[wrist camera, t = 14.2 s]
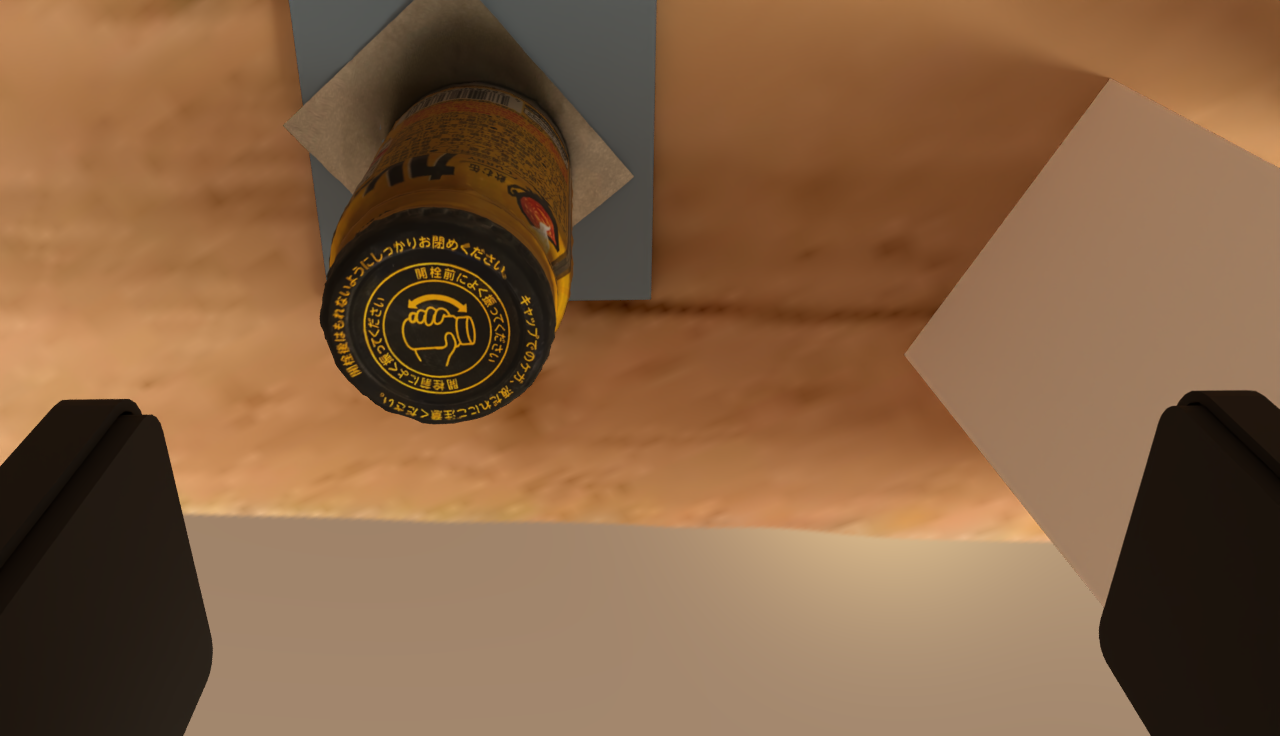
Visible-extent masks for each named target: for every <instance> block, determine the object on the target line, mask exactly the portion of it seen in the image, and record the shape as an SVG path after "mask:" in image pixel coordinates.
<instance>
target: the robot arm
mask: <svg viewBox="0 0 1280 736" xmlns="http://www.w3.org/2000/svg"><path fill="white" fill-rule="evenodd" d="M1099 639H1100V647H1101V650H1102V653H1103V656H1104V658H1105V660H1106V663H1107V664H1108V666H1109V667H1110V669H1111V671H1112V673H1113V674H1114V676H1115V677H1116V679H1117V681H1118V682H1119V684H1120V686H1121V687H1122V689H1123V691H1124V692H1125V694H1126V695H1127V697H1128V699H1129V700H1130V702H1131V704H1132V705H1133V707H1134V709H1135V710H1136V712H1137V714H1138V715H1139V717H1140V719H1141V720H1142V722H1143V723H1144V725H1145V727H1146V728H1147V730H1148V732H1149V733H1150V735H1151V736H1280V409H1279V408H1278V407H1277V406H1276V405H1274V404H1273V403H1272V402H1271V401H1270V400H1269V399H1267V398H1266V397H1265V396H1264V395H1262V394H1260V393H1259V392H1257V391H1252V390H1205V391H1190V392H1188V393H1186V394H1185V395H1184V396H1183V397H1182V398H1181V399H1180V400H1179V402H1178V404H1177V406H1171V407H1168V408H1166V410H1165V411H1164V412H1163V413H1162V415H1161V417H1160V420H1159V422H1158V425H1157V429H1156V432H1155V436H1154V439H1153V442H1152V446H1151V449H1150V453H1149V456H1148V460H1147V463H1146V466H1145V470H1144V473H1143V477H1142V480H1141V483H1140V487H1139V490H1138V494H1137V497H1136V500H1135V504H1134V507H1133V511H1132V514H1131V518H1130V521H1129V524H1128V528H1127V531H1126V535H1125V538H1124V541H1123V545H1122V548H1121V552H1120V555H1119V559H1118V562H1117V565H1116V569H1115V572H1114V576H1113V579H1112V582H1111V586H1110V589H1109V593H1108V596H1107V599H1106V603H1105V606H1104V610H1103V614H1102V617H1101V620H1100V626H1099ZM212 651H213V647H212V638H211V633H210V629H209V624H208V620H207V616H206V612H205V608H204V604H203V599H202V595H201V590H200V587H199V582H198V578H197V573H196V569H195V565H194V561H193V556H192V552H191V548H190V544H189V539H188V535H187V531H186V527H185V522H184V518H183V514H182V510H181V505H180V501H179V497H178V493H177V488H176V484H175V480H174V476H173V471H172V467H171V463H170V459H169V454H168V450H167V446H166V442H165V437H164V433H163V430H162V427H161V424H160V422H159V420H158V419H157V417H155V416H153V415H142V413H141V411H140V409H139V408H138V406H137V405H136V403H135V402H133V401H131V400H130V399H90V400H62V401H60V402H59V403H58V404H56V405H55V406H54V407H53V408H52V409H51V410H50V411H49V412H48V414H47V415H46V416H45V417H44V418H43V419H42V420H41V421H40V422H39V424H38V425H37V426H36V427H35V428H34V429H33V430H32V431H31V433H30V434H29V435H28V436H27V437H26V438H25V439H24V440H23V441H22V443H21V444H20V445H19V446H18V447H17V448H16V449H15V450H14V452H13V453H12V454H11V455H10V456H9V457H8V458H7V459H6V460H5V462H4V463H3V464H2V465H1V466H0V736H183V735H184V733H185V731H186V728H187V726H188V723H189V721H190V719H191V716H192V714H193V712H194V710H195V708H196V705H197V703H198V701H199V698H200V696H201V694H202V692H203V689H204V687H205V685H206V682H207V680H208V677H209V674H210V670H211V665H212V654H213V652H212Z"/></svg>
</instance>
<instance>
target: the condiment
mask: <svg viewBox="0 0 1280 736" xmlns="http://www.w3.org/2000/svg"><path fill="white" fill-rule="evenodd" d="M380 124H381V130H380ZM283 126H284V127H285V128H286V129H287V130H288V131H289V132H290V133H291V134H292V135H293V136H294V137H295V138H296V139H297V140H298V141H299V143H300V144H302V145H303V146H304V147H305V148H306V149H307V150H308V151H309V152H310V153H311V154H312V155H313V156H315V157H316V158H317V159H318V160H319V161H320V162H321V163H322V164H323V166H324V167H325V168H326V169H327V170H328V171H329V172H330V173H331V174H332V175H333V176H334V177H335V178H337V179H338V180H339V181H340V182H341V183H342V184H343V185H344V186H345V187H346V188H347V189H348V190H349V191H350V192H351V193H352V194H353V196H352V197H351V199H350V201H349V203H348V204H347V206H346V207H345V209H344V212H343V213H342V215H341V217H340V220H339V222H338V224H337V227H336V229H335V231H334V233H333V237H332V243H331V252H330V257H329V271H328V273H327V276H326V277H327V282H326V283H325V289H324V293H323V297H322V307H321V311H320V325H321V327H322V329H323V331H324V335H325V339H326V340H327V343H328V345H329V348H330V350H331V353H332V355H333V358H334V361H335V364H336V366H337V367H338V368H339V370H340V371H341V372H342V374H343V375H344V376H345V377H346V378H347V379H348V381H349V382H351V383H352V384H353V385H354V386H355V387H356V388H357V389H358V390H359V391H360V392H361V393H362V394H363V395H365V396H367V397H368V398H369V399H370V400H372V401H373V402H374V403H375V404H376V405H378V406H380V407H381V408H383V409H384V410H385V411H388V412H391V413H395V414H400V415H403V416H406V417H409V418H412V419H415V420H417V421H419V422H421V423H427V424H451V423H458V422H463V421H468V420H473V419H477V418H481V417H484V416H486V415H489V414H491V413H493V412H495V411H496V410H498V409H499V408H501V407H503V406H505V405H507V404H509V403H510V402H511V401H512V400H514V399H515V398H517V397H519V396H520V395H521V394H522V393H524V392H525V391H526V389H527V388H528V387H530V386H531V385H532V383H533V382H534V380H535V379H536V377H537V376H538V374H539V372H540V371H541V370H542V366H543V364H544V363H545V361H546V360H547V358H548V356H549V353H550V348H551V344H552V342H553V340H554V338H555V332H556V331H557V329H558V328H559V326H560V323H561V321H562V319H563V316H564V313H565V309H566V305H567V303H568V300H569V298H570V295H571V291H570V289H571V282H572V278H573V265H574V263H573V257H572V246H573V241H574V240H573V236H572V227H573V226H574V225H576V224H577V223H578V222H579V221H581V220H582V219H583V218H584V217H586V216H587V215H588V214H590V213H591V212H592V211H594V210H595V209H596V208H597V207H598V206H600V205H601V204H602V203H603V202H604V201H606V200H607V199H608V198H609V197H611V196H612V195H613V194H614V193H615V192H617V191H618V190H619V189H620V188H621V187H623V186H624V185H625V184H626V183H627V182H629V181H630V180H631V179H632V178H633V177H634V176H633V175H632V173H631V172H630V171H629V170H628V169H627V168H626V167H625V165H624V164H623V163H622V162H621V161H620V160H619V158H618V157H617V156H616V155H615V154H614V153H613V151H612V150H611V149H610V148H609V147H608V146H607V145H606V143H605V142H604V141H603V140H602V139H601V138H600V136H599V135H598V134H597V133H596V132H595V131H594V130H593V128H592V127H590V125H589V124H588V123H587V122H586V120H585V119H584V118H583V117H582V116H581V114H580V113H579V112H578V111H577V110H576V109H575V108H574V106H573V105H572V104H571V103H570V102H569V101H568V100H567V99H566V98H565V97H564V95H563V94H562V93H561V92H560V90H559V89H558V88H557V87H556V86H555V85H554V84H553V83H552V82H551V80H550V79H549V78H548V77H547V76H546V74H545V73H544V72H543V71H542V70H541V69H540V68H539V67H538V66H537V65H536V64H535V63H534V62H533V60H532V59H531V58H530V57H529V56H528V55H527V54H526V53H525V52H524V50H523V49H522V47H521V46H520V45H519V44H518V43H517V42H516V41H515V39H514V38H513V37H512V36H511V35H510V34H509V32H508V31H507V30H506V29H505V28H504V27H503V25H502V24H501V23H500V22H499V21H498V19H497V18H496V17H495V16H494V15H493V14H492V13H491V12H490V11H489V10H488V8H487V7H486V6H485V5H484V4H483V3H482V2H481V1H480V0H414V1H413V2H412V3H411V4H410V5H408V6H407V7H406V8H405V9H404V10H403V11H402V12H401V13H400V14H399V15H398V16H397V17H396V18H395V19H394V20H393V21H392V22H390V23H389V24H388V25H387V26H386V27H385V28H384V29H383V30H382V31H381V32H380V33H379V34H378V35H377V36H376V37H375V38H374V39H373V40H372V41H371V42H370V43H369V44H368V45H367V46H365V47H364V48H363V49H362V50H361V51H360V52H359V53H358V54H357V55H356V56H355V57H354V58H353V59H352V60H351V61H350V62H348V63H347V64H346V65H345V67H343V68H342V69H341V70H340V71H339V72H338V73H337V74H336V75H335V76H334V78H332V79H331V80H330V81H329V82H328V83H327V84H326V85H325V86H324V87H323V88H321V89H320V90H319V91H318V92H317V93H316V94H315V95H314V96H313V97H312V98H311V99H310V100H309V101H308V102H307V103H306V104H305V105H304V106H303V107H302V108H301V109H299V110H298V111H297V112H296V113H295V114H294V115H293V116H292V117H291V118H290V119H289V120H288V121H287V122H286V123H285V124H284V125H283ZM383 139H384V142H383V143H382V140H383Z"/></svg>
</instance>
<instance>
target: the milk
mask: <svg viewBox="0 0 1280 736" xmlns="http://www.w3.org/2000/svg"><path fill="white" fill-rule="evenodd" d="M904 356H905V357H906V358H907V359H908V361H909V362H910V363H911V364H912V366H913V367H914V368H915V369H916V371H917V372H918V373H919V375H920V376H921V377H922V378H923V380H924V381H925V382H926V383H927V385H928V386H929V387H930V388H931V390H932V391H933V392H934V393H935V395H936V396H937V397H938V399H939V400H940V401H941V402H942V404H943V405H944V406H945V407H946V409H947V410H948V411H949V412H950V414H951V415H952V416H953V418H954V419H955V420H956V421H957V423H958V424H959V425H960V426H961V428H962V429H963V430H964V431H965V433H966V434H967V435H968V436H969V438H970V439H971V440H972V442H973V443H974V444H975V445H976V447H977V448H978V449H979V450H980V452H981V453H982V454H983V455H984V457H985V458H986V459H987V460H988V462H989V463H990V464H991V466H992V467H993V468H994V469H995V471H996V472H997V473H998V474H999V476H1000V477H1001V478H1002V479H1003V481H1004V482H1005V483H1006V485H1007V486H1008V487H1009V488H1010V490H1011V491H1012V492H1013V493H1014V495H1015V496H1016V497H1017V498H1018V500H1019V501H1020V502H1021V503H1022V505H1023V506H1024V507H1025V509H1026V510H1027V511H1028V512H1029V514H1030V515H1031V516H1032V517H1033V519H1034V520H1035V521H1036V522H1037V524H1038V525H1039V526H1040V527H1041V529H1042V530H1043V531H1044V533H1045V534H1046V535H1047V536H1048V538H1049V539H1050V540H1051V541H1052V543H1053V544H1054V545H1055V546H1056V547H1057V549H1058V550H1059V551H1060V553H1061V554H1062V555H1063V556H1064V558H1065V559H1066V560H1067V562H1068V563H1069V564H1070V565H1071V567H1072V568H1073V569H1074V570H1075V572H1076V573H1077V574H1078V576H1079V577H1080V578H1081V579H1082V581H1083V582H1084V583H1085V584H1086V586H1087V587H1088V588H1089V589H1090V591H1091V592H1092V593H1093V594H1094V596H1095V597H1096V598H1097V599H1098V601H1099V602H1100V603H1101V605H1102V606H1103V607H1104V606H1105V603H1106V599H1107V596H1108V593H1109V589H1110V586H1111V582H1112V579H1113V576H1114V572H1115V569H1116V565H1117V562H1118V559H1119V555H1120V552H1121V548H1122V545H1123V541H1124V538H1125V535H1126V531H1127V528H1128V524H1129V521H1130V518H1131V514H1132V511H1133V507H1134V504H1135V500H1136V497H1137V494H1138V490H1139V487H1140V483H1141V480H1142V477H1143V473H1144V470H1145V466H1146V463H1147V460H1148V456H1149V453H1150V449H1151V446H1152V442H1153V439H1154V436H1155V432H1156V429H1157V425H1158V422H1159V420H1160V417H1161V415H1162V413H1163V412H1164V411H1165V410H1166V408H1168V407H1171V406H1177V404H1178V402H1179V400H1180V399H1181V398H1182V397H1183V396H1184V395H1185V394H1186V393H1188V392H1190V391H1205V390H1252V391H1257V392H1259V393H1260V394H1262V395H1264V396H1265V397H1266V398H1267V399H1269V400H1270V401H1271V402H1272V403H1273V404H1274V405H1276V406H1277V407H1278V408H1279V409H1280V168H1278V167H1277V166H1275V165H1273V164H1271V163H1269V162H1267V161H1265V160H1263V159H1262V158H1260V157H1258V156H1256V155H1254V154H1252V153H1250V152H1248V151H1246V150H1245V149H1243V148H1241V147H1239V146H1237V145H1235V144H1233V143H1231V142H1230V141H1228V140H1226V139H1224V138H1222V137H1220V136H1218V135H1216V134H1215V133H1213V132H1211V131H1209V130H1207V129H1205V128H1203V127H1201V126H1200V125H1198V124H1196V123H1194V122H1192V121H1190V120H1188V119H1186V118H1184V117H1183V116H1181V115H1179V114H1177V113H1175V112H1173V111H1171V110H1169V109H1168V108H1166V107H1164V106H1162V105H1160V104H1158V103H1156V102H1154V101H1153V100H1151V99H1149V98H1147V97H1145V96H1143V95H1141V94H1139V93H1138V92H1136V91H1134V90H1132V89H1130V88H1128V87H1126V86H1124V85H1122V84H1121V83H1119V82H1117V81H1115V80H1113V79H1111V78H1110V79H1109V81H1108V82H1107V83H1106V85H1105V86H1104V87H1103V89H1102V90H1101V91H1100V93H1099V94H1098V95H1097V97H1096V98H1095V99H1094V101H1093V102H1092V103H1091V105H1090V106H1089V107H1088V109H1087V110H1086V111H1085V113H1084V114H1083V115H1082V117H1081V118H1080V119H1079V121H1078V122H1077V123H1076V125H1075V126H1074V127H1073V129H1072V130H1071V131H1070V133H1069V134H1068V135H1067V137H1066V138H1065V139H1064V141H1063V142H1062V143H1061V145H1060V146H1059V147H1058V149H1057V150H1056V152H1055V153H1054V154H1053V156H1052V157H1051V158H1050V160H1049V161H1048V162H1047V164H1046V165H1045V166H1044V168H1043V169H1042V170H1041V172H1040V173H1039V174H1038V176H1037V177H1036V178H1035V180H1034V181H1033V182H1032V184H1031V185H1030V186H1029V188H1028V189H1027V190H1026V192H1025V193H1024V194H1023V196H1022V197H1021V198H1020V200H1019V201H1018V202H1017V204H1016V205H1015V206H1014V208H1013V209H1012V210H1011V212H1010V213H1009V214H1008V216H1007V217H1006V218H1005V220H1004V221H1003V223H1002V224H1001V225H1000V227H999V228H998V229H997V231H996V232H995V233H994V235H993V236H992V237H991V239H990V240H989V241H988V243H987V244H986V245H985V247H984V248H983V249H982V251H981V252H980V253H979V255H978V256H977V257H976V259H975V260H974V261H973V263H972V264H971V265H970V267H969V268H968V269H967V271H966V272H965V273H964V275H963V276H962V277H961V279H960V280H959V281H958V283H957V284H956V285H955V287H954V288H953V289H952V291H951V292H950V294H949V295H948V296H947V298H946V299H945V300H944V302H943V303H942V304H941V306H940V307H939V308H938V310H937V311H936V312H935V314H934V315H933V316H932V318H931V319H930V320H929V322H928V323H927V324H926V326H925V327H924V328H923V330H922V331H921V332H920V334H919V335H918V336H917V338H916V339H915V340H914V342H913V343H912V344H911V346H910V347H909V348H908V350H907V351H906V352H905V354H904Z"/></svg>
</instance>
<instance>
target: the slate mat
mask: <svg viewBox="0 0 1280 736" xmlns="http://www.w3.org/2000/svg"><path fill="white" fill-rule="evenodd" d="M413 1H414V0H289V5H290V13H291V20H292V28H293V35H294V43H295V50H296V57H297V65H298V72H299V80H300V87H301V94H302V102H303V106H304V105H305V104H306V103H307V102H308V101H309V100H310V99H311V98H312V97H313V96H314V95H315V94H316V93H317V92H318V91H319V90H320V89H321V88H323V87H324V86H325V85H326V84H327V83H328V82H329V81H330V80H331V79H332V78H334V76H335V75H336V74H337V73H338V72H339V71H340V70H341V69H342V68H343V67H345V65H346V64H347V63H348V62H350V61H351V60H352V59H353V58H354V57H355V56H356V55H357V54H358V53H359V52H360V51H361V50H362V49H363V48H364V47H365V46H367V45H368V44H369V43H370V42H371V41H372V40H373V39H374V38H375V37H376V36H377V35H378V34H379V33H380V32H381V31H382V30H383V29H384V28H385V27H386V26H387V25H388V24H389V23H390V22H392V21H393V20H394V19H395V18H396V17H397V16H398V15H399V14H400V13H401V12H402V11H403V10H404V9H405V8H406V7H407V6H408V5H410V4H411V3H412V2H413ZM480 1H481V2H482V3H483V4H484V5H485V6H486V7H487V8H488V10H489V11H490V12H491V13H492V14H493V15H494V16H495V17H496V18H497V19H498V21H499V22H500V23H501V24H502V25H503V27H504V28H505V29H506V30H507V31H508V32H509V34H510V35H511V36H512V37H513V38H514V39H515V41H516V42H517V43H518V44H519V45H520V46H521V47H522V49H523V50H524V52H525V53H526V54H527V55H528V56H529V57H530V58H531V59H532V60H533V62H534V63H535V64H536V65H537V66H538V67H539V68H540V69H541V70H542V71H543V72H544V73H545V74H546V76H547V77H548V78H549V79H550V80H551V82H552V83H553V84H554V85H555V86H556V87H557V88H558V89H559V90H560V92H561V93H562V94H563V95H564V97H565V98H566V99H567V100H568V101H569V102H570V103H571V104H572V105H573V106H574V108H575V109H576V110H577V111H578V112H579V113H580V114H581V116H582V117H583V118H584V119H585V120H586V122H587V123H588V124H589V125H590V127H592V128H593V130H594V131H595V132H596V133H597V134H598V135H599V136H600V138H601V139H602V140H603V141H604V142H605V143H606V145H607V146H608V147H609V148H610V149H611V150H612V151H613V153H614V154H615V155H616V156H617V157H618V158H619V160H620V161H621V162H622V163H623V164H624V165H625V167H626V168H627V169H628V170H629V171H630V172H631V173H632V175H633V176H634V177H633V178H632V179H631V180H630V181H629V182H627V183H626V184H625V185H624V186H623V187H621V188H620V189H619V190H618V191H617V192H615V193H614V194H613V195H612V196H611V197H609V198H608V199H607V200H606V201H604V202H603V203H602V204H601V205H600V206H598V207H597V208H596V209H595V210H594V211H592V212H591V213H590V214H588V215H587V216H586V217H584V218H583V219H582V220H581V221H579V222H578V223H577V224H576V225H574V226H573V227H572V236H573V240H574V241H573V246H572V257H573V263H574V265H573V278H572V282H571V289H570V291H571V295H570V298H569V300H568V301H578V300H649V299H651V274H652V220H653V165H654V110H655V56H656V1H657V0H480ZM380 130H381V124H380ZM383 142H384V139H383V140H382V143H383ZM309 154H310V161H311V169H312V176H313V183H314V191H315V198H316V206H317V213H318V220H319V228H320V235H321V243H322V250H323V258H324V265H325V272H326V276H327V273H328V271H329V257H330V252H331V243H332V237H333V233H334V231H335V229H336V227H337V224H338V222H339V220H340V217H341V215H342V213H343V212H344V209H345V207H346V206H347V204H348V203H349V201H350V199H351V197H352V196H353V194H352V193H351V192H350V191H349V190H348V189H347V188H346V187H345V186H344V185H343V184H342V183H341V182H340V181H339V180H338V179H337V178H335V177H334V176H333V175H332V174H331V173H330V172H329V171H328V170H327V169H326V168H325V167H324V166H323V164H322V163H321V162H320V161H319V160H318V159H317V158H316V157H315V156H313V155H312V154H311V153H310V152H309ZM326 280H327V277H326Z"/></svg>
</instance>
